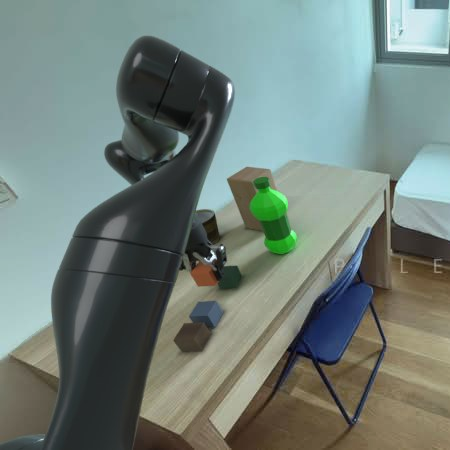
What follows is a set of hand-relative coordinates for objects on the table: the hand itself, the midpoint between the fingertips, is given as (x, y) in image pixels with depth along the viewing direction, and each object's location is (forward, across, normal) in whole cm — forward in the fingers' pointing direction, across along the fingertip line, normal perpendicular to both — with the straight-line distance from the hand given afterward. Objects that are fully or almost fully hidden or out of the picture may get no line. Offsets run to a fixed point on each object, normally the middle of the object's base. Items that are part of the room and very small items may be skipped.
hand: (210, 278), depth 79 cm
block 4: (+8, 0, -6) cm, 10 cm away
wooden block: (+8, 0, -37) cm, 38 cm away
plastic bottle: (+8, -11, -21) cm, 25 cm away
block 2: (+8, 0, +7) cm, 10 cm away
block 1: (0, 0, 0) cm, 0 cm away
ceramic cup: (+8, +16, -26) cm, 32 cm away
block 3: (+8, 0, +13) cm, 15 cm away
